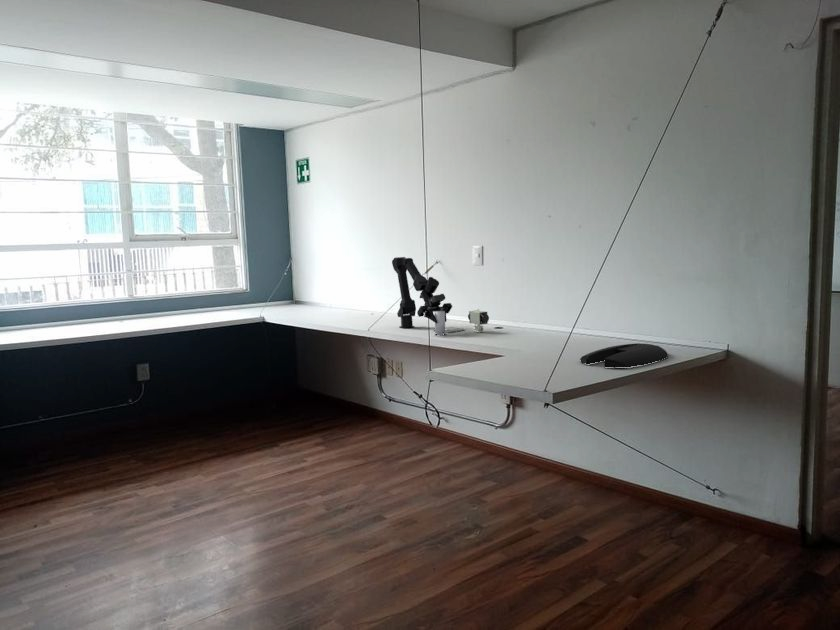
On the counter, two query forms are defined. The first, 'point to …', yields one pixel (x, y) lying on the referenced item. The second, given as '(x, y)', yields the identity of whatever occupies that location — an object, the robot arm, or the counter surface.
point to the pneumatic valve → (478, 319)
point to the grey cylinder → (440, 322)
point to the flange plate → (452, 329)
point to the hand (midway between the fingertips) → (441, 322)
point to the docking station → (626, 355)
